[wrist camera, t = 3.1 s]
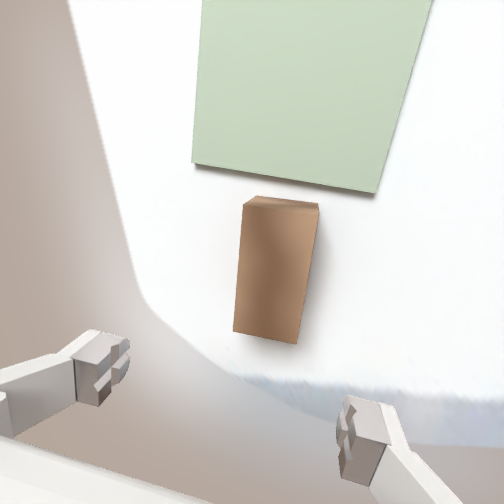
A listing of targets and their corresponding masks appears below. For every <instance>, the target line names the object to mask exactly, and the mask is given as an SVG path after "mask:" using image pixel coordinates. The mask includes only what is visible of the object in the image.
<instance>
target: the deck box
mask: <svg viewBox="0 0 504 504" xmlns="http://www.w3.org/2000/svg"><path fill="white" fill-rule="evenodd" d="M318 218H319V209H318V203H312V202H303V201H295V200H287V199H279V198H271V197H262V196H255V197H254V198H252V199H251V200H249V201H248V202H246V203H245V204H243V212H242V224H241V237H240V249H239V261H238V274H237V286H236V299H235V311H234V323H233V332H238V333H243V334H248V335H253V336H258V337H262V338H267V339H272V340H277V341H282V342H287V343H292V344H297V339H298V334H299V328H300V322H301V316H302V310H303V305H304V299H305V293H306V287H307V282H308V276H309V270H310V264H311V258H312V253H313V247H314V241H315V235H316V229H317V224H318Z"/></svg>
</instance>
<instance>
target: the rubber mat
mask: <svg viewBox="0 0 504 504" xmlns="http://www.w3.org/2000/svg"><path fill="white" fill-rule="evenodd" d="M431 3H432V0H202V14H201V28H200V43H199V57H198V72H197V86H196V101H195V115H194V130H193V144H192V159H191V163H197V164H203V165H209V166H215V167H221V168H227V169H233V170H239V171H245V172H251V173H257V174H263V175H269V176H275V177H281V178H287V179H292V180H298V181H304V182H310V183H316V184H322V185H328V186H334V187H340V188H346V189H352V190H358V191H364V192H370V193H376V190H377V187H378V184H379V180H380V177H381V173H382V170H383V166H384V163H385V160H386V156H387V153H388V149H389V146H390V143H391V139H392V136H393V132H394V129H395V126H396V122H397V119H398V115H399V112H400V108H401V105H402V102H403V98H404V95H405V91H406V88H407V85H408V81H409V78H410V74H411V71H412V67H413V64H414V61H415V57H416V54H417V50H418V47H419V44H420V40H421V37H422V33H423V30H424V26H425V23H426V20H427V16H428V13H429V9H430V6H431Z"/></svg>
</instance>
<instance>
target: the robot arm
mask: <svg viewBox="0 0 504 504" xmlns="http://www.w3.org/2000/svg"><path fill="white" fill-rule="evenodd" d="M129 343H130V342H129V340H128V339H127V338H124V337H120V336H117V335H114V334H110V333H107V332H102V331H99V330H95V329H89V330H87V331H86V332H84V333H83V334H82V335H80V336H79V337H78V338H77V339H75V340H74V341H73V342H71V343H70V344H69V345H67V346H66V347H65V348H63V349H62V350H61V351H59V352H58V353H57V354H48V355H45V356H42V357H39V358H35V359H32V360H29V361H26V362H22V363H19V364H16V365H13V366H10V367H6V368H3V369H0V504H213V503H210V502H207V501H204V500H201V499H198V498H195V497H192V496H188V495H185V494H182V493H179V492H176V491H173V490H170V489H167V488H164V487H161V486H158V485H155V484H151V483H148V482H145V481H142V480H139V479H136V478H133V477H129V476H127V475H124V474H120V473H117V472H114V471H111V470H108V469H105V468H101V467H99V466H96V465H92V464H89V463H86V462H83V461H80V460H77V459H74V458H71V457H68V456H65V455H61V454H58V453H55V452H52V451H49V450H46V449H43V448H40V447H37V446H33V445H30V444H27V443H24V442H21V441H18V440H15V439H14V437H15V436H16V435H18V434H20V433H22V432H24V431H26V430H27V429H29V428H31V427H33V426H35V425H36V424H38V423H40V422H42V421H44V420H45V419H47V418H49V417H51V416H53V415H54V414H56V413H58V412H60V411H62V410H63V409H65V408H67V407H69V406H71V405H73V404H74V403H76V401H77V402H81V403H85V404H90V405H93V406H97V407H99V406H100V405H101V404H102V402H103V401H104V400H105V399H106V398H107V397H108V395H109V394H110V393H111V386H113V385H115V384H118V383H120V381H121V380H122V379H123V378H124V376H125V374H126V372H127V370H128V367H129V363H130V360H129V359H130V357H129V356H128V354H127V352H126V351H127V350H128V349H129V348H130V345H129ZM343 407H344V410H343V411H342V412H340V413H339V417H338V420H337V427H336V439H337V444H338V445H339V447H340V448H341V451H340V454H339V456H338V457H339V466H340V474H341V478H343V479H346V480H349V481H352V482H355V483H359V484H362V485H365V486H368V487H369V490H370V492H371V493H372V495H373V497H374V499H375V500H376V502H377V504H463V503H462V502H461V501H460V500H459V499H458V498H457V496H455V494H454V493H453V492H452V491H451V490H450V489H449V488H448V487H447V486H446V485H445V484H444V482H443V481H442V480H441V479H440V478H439V477H438V476H437V475H436V474H435V473H434V472H433V471H432V470H431V469H430V467H429V466H427V464H426V463H425V462H424V461H423V460H422V459H421V458H420V457H419V456H418V455H417V454H416V453H415V452H412V451H410V448H409V445H408V443H407V440H406V437H405V434H404V432H403V429H402V426H401V424H400V421H399V418H398V416H397V413H396V410H395V408H394V407H393V406H392V405H389V404H385V403H380V402H375V401H371V400H367V399H363V398H359V397H355V396H351V395H346V396H345V398H344V401H343Z"/></svg>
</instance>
